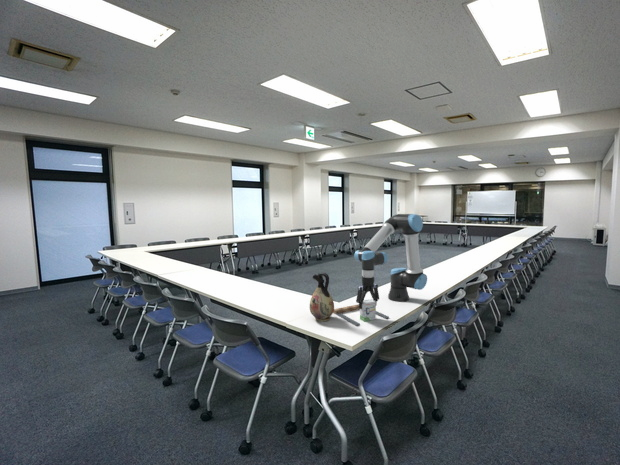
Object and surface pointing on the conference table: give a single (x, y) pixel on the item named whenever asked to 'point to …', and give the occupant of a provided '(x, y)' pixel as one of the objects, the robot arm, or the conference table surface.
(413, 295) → the conference table surface
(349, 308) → the end stop
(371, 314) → the ink box
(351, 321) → the guide rails
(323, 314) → the ceramic jug
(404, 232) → the robot arm
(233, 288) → the conference table surface
